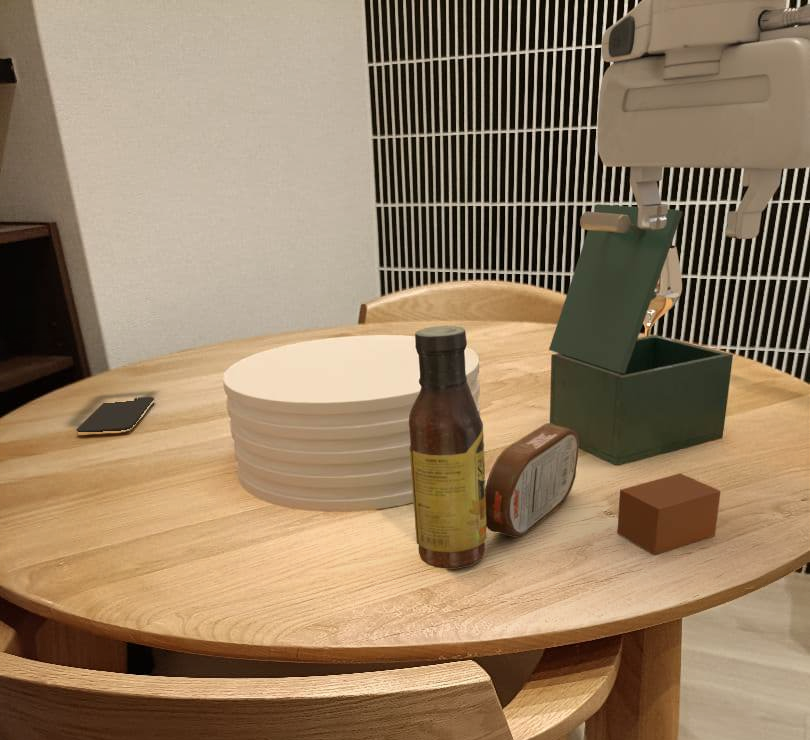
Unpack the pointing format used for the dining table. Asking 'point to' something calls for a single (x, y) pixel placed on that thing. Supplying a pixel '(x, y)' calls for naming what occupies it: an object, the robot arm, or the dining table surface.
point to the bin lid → (612, 286)
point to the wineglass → (665, 290)
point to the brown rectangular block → (668, 513)
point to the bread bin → (643, 399)
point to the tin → (531, 479)
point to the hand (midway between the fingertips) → (693, 233)
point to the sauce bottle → (447, 454)
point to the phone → (116, 416)
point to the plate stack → (329, 421)
